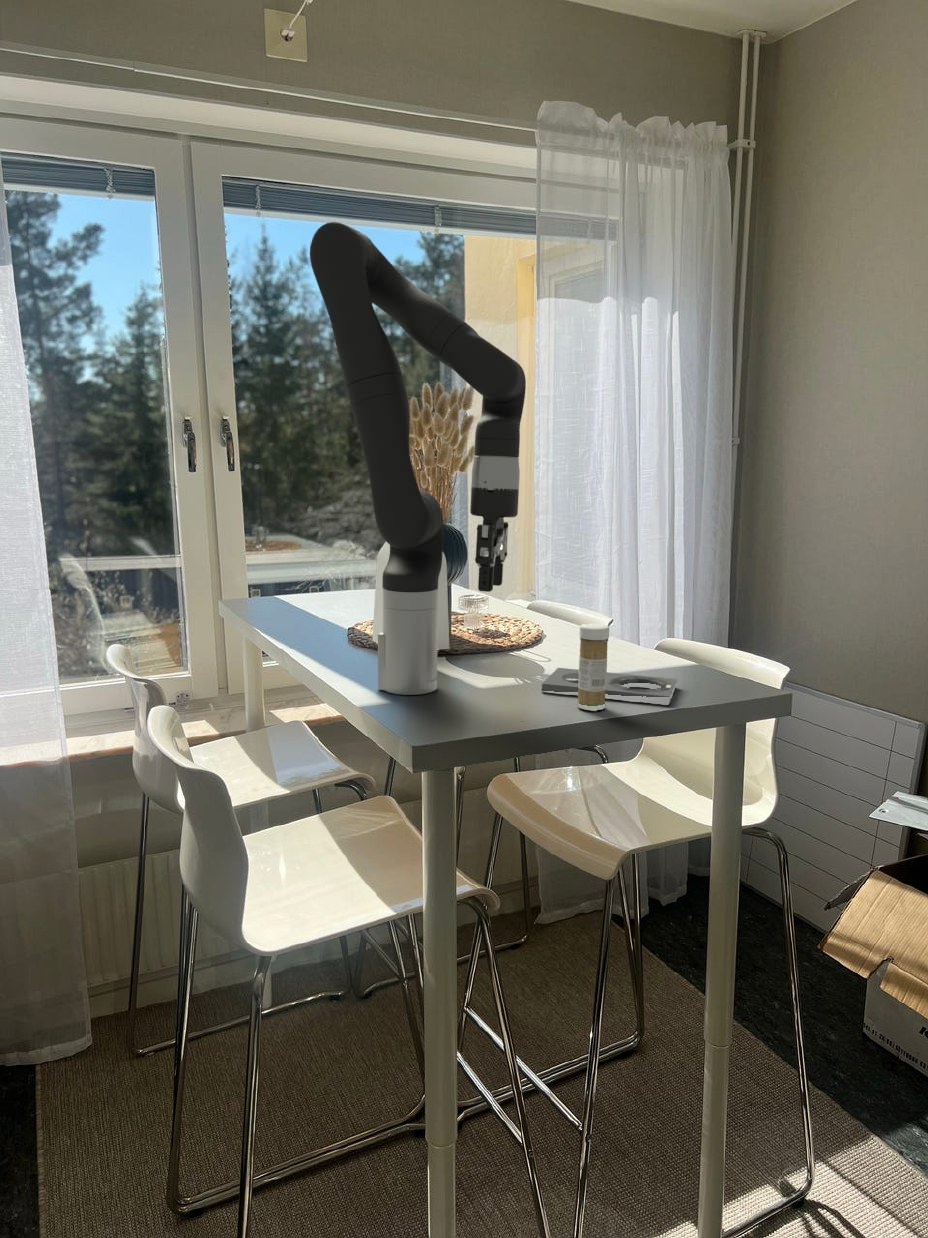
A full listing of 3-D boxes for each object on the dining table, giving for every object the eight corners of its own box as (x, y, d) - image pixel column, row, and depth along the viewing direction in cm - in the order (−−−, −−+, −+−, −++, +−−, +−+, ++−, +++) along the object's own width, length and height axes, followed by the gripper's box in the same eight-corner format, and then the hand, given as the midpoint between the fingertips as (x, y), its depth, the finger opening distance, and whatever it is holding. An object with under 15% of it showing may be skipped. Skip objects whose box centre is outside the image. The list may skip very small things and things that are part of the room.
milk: (424, 639, 194) (425, 516, 189) (449, 650, 184) (451, 520, 179) (372, 644, 188) (371, 517, 183) (394, 655, 178) (395, 522, 173)
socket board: (541, 692, 153) (542, 682, 153) (557, 676, 164) (558, 667, 164) (668, 706, 146) (669, 695, 146) (676, 688, 158) (677, 678, 157)
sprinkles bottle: (602, 704, 147) (606, 622, 144) (608, 712, 142) (612, 628, 140) (574, 704, 147) (577, 622, 144) (579, 712, 142) (582, 628, 140)
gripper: (480, 485, 151) (476, 582, 154) (462, 484, 137) (457, 591, 140) (525, 487, 150) (520, 585, 152) (511, 487, 136) (506, 595, 138)
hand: (490, 588), depth 146 cm, fingers open, 8 cm apart
